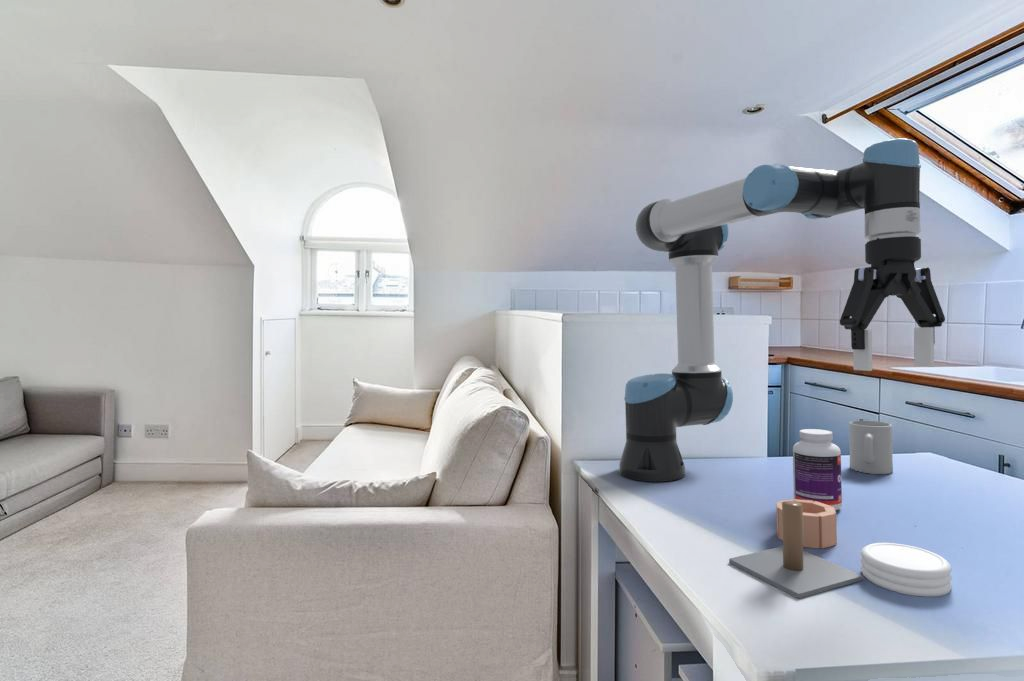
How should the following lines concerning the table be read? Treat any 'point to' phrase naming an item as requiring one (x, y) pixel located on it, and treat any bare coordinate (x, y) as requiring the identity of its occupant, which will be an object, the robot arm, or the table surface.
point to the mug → (871, 447)
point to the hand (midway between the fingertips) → (894, 368)
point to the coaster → (906, 569)
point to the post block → (795, 561)
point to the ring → (813, 523)
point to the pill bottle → (817, 468)
